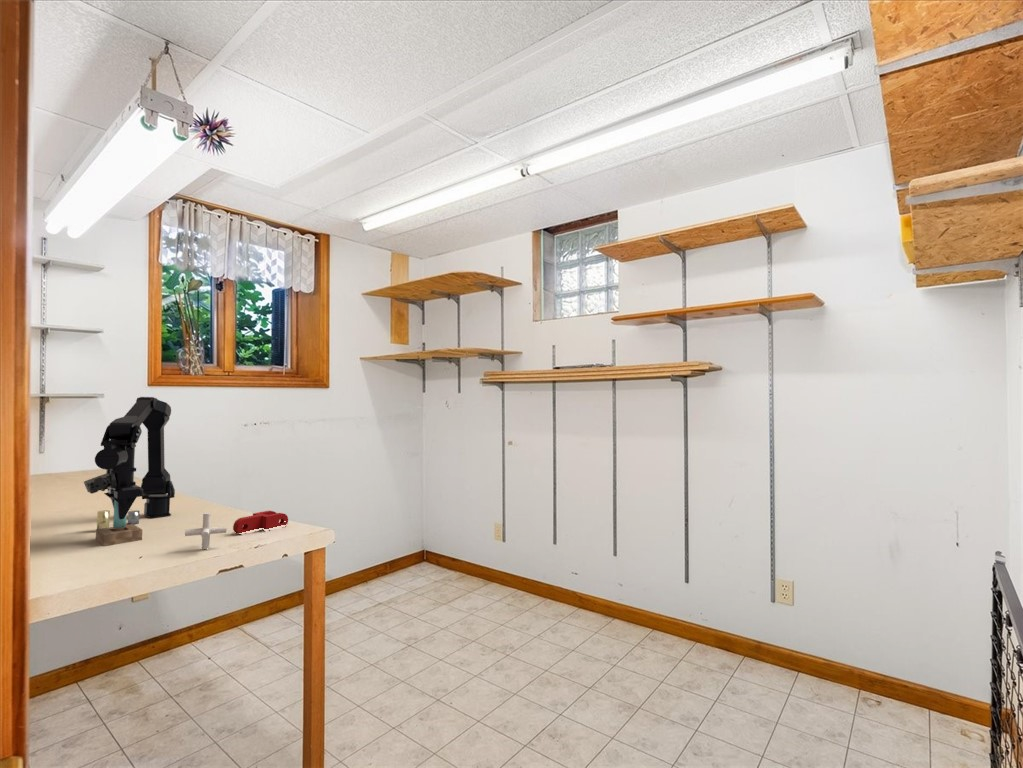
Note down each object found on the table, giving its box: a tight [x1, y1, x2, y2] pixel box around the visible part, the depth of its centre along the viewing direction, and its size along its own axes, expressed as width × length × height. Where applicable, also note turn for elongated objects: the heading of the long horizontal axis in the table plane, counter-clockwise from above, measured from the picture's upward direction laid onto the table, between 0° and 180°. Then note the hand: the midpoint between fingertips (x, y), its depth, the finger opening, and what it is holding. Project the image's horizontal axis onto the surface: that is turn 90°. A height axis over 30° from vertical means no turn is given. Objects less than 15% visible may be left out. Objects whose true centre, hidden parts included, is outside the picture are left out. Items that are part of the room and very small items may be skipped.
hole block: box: [95, 524, 143, 547], centre depth 155 cm, size 9×9×3 cm
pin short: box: [127, 509, 140, 526], centre depth 174 cm, size 3×3×4 cm
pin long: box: [112, 500, 127, 528], centre depth 155 cm, size 3×3×9 cm
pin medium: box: [96, 509, 111, 529], centre depth 164 cm, size 3×3×6 cm
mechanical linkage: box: [232, 510, 289, 534], centre depth 170 cm, size 16×7×5 cm, turn 149°
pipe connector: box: [184, 511, 228, 550], centre depth 149 cm, size 10×10×10 cm
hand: (119, 518), depth 155 cm, fingers closed on pin long, 3 cm apart
